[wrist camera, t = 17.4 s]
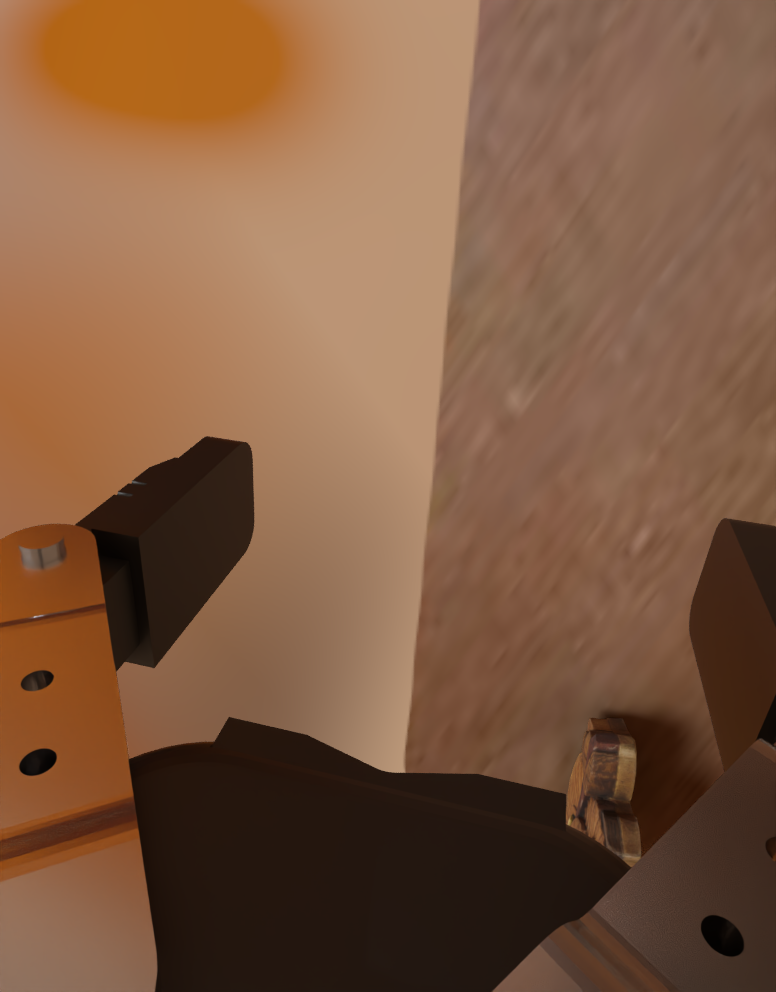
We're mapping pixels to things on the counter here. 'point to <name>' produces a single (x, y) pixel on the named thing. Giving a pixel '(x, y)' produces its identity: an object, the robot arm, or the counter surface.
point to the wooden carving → (606, 789)
